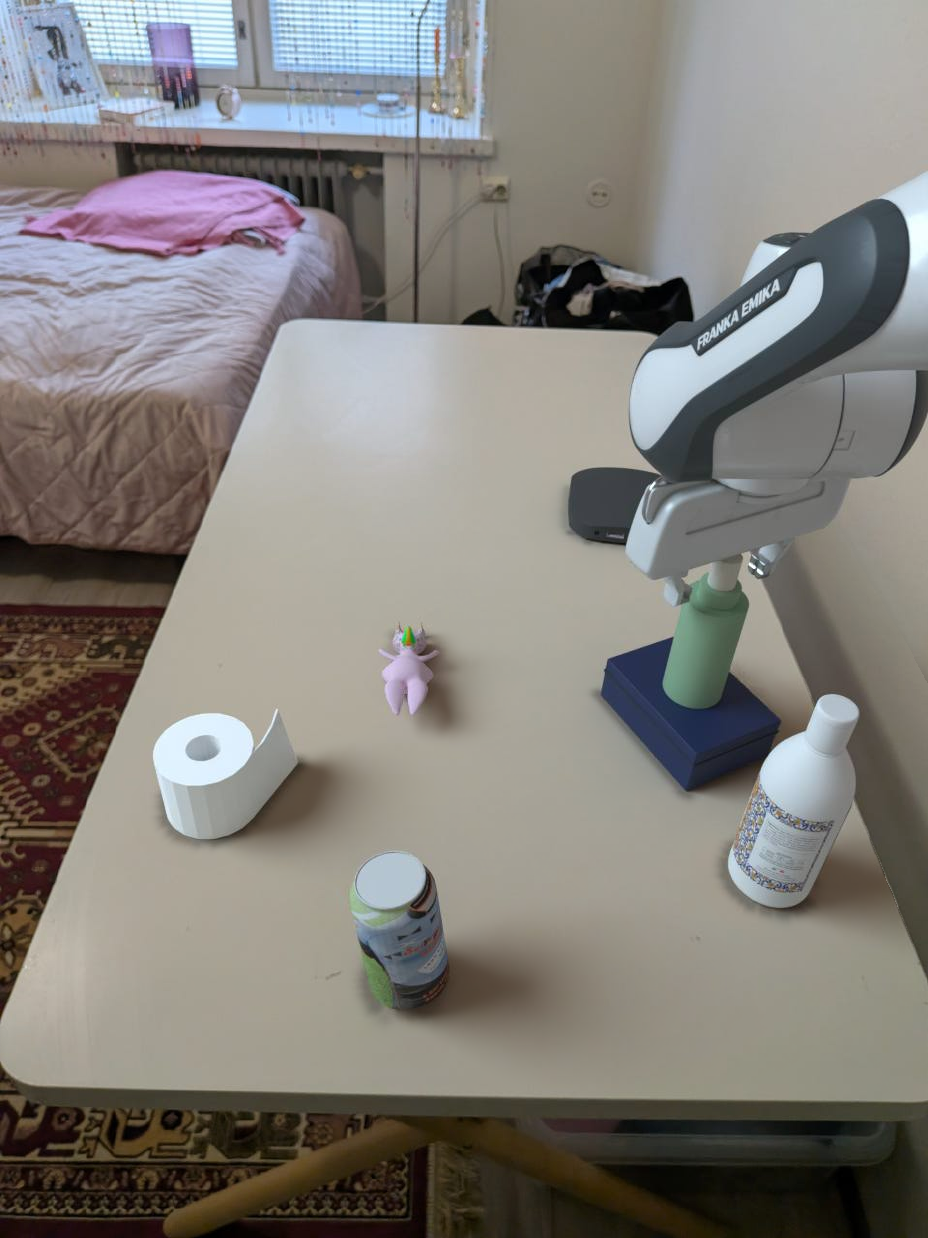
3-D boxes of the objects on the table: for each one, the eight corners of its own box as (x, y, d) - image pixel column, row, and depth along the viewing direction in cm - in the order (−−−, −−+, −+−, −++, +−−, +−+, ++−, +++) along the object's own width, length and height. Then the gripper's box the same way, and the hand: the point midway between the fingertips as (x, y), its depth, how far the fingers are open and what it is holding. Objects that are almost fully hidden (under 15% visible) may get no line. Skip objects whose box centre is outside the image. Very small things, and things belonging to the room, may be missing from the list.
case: (772, 755, 89) (786, 719, 86) (685, 792, 85) (696, 755, 82) (681, 665, 98) (690, 629, 95) (599, 694, 94) (606, 658, 91)
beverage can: (429, 1032, 67) (432, 940, 59) (338, 994, 68) (330, 900, 61) (461, 958, 71) (469, 864, 64) (375, 924, 73) (372, 829, 65)
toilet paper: (297, 763, 86) (292, 709, 81) (224, 853, 78) (214, 799, 73) (224, 733, 88) (215, 680, 84) (146, 818, 80) (131, 764, 76)
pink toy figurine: (381, 645, 101) (371, 728, 88) (381, 597, 98) (371, 676, 85) (438, 647, 101) (437, 730, 88) (440, 599, 98) (439, 678, 85)
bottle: (733, 698, 88) (776, 565, 78) (686, 716, 86) (724, 582, 76) (696, 662, 91) (732, 531, 81) (650, 678, 89) (682, 545, 79)
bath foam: (761, 828, 82) (827, 661, 69) (826, 883, 78) (910, 716, 65) (709, 866, 79) (768, 698, 66) (774, 925, 75) (851, 758, 62)
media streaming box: (675, 490, 126) (679, 470, 124) (684, 551, 115) (689, 531, 113) (568, 480, 127) (571, 461, 125) (567, 540, 116) (569, 520, 114)
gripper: (676, 495, 66) (643, 641, 75) (880, 440, 74) (828, 578, 83) (625, 454, 70) (599, 597, 79) (823, 406, 78) (780, 541, 87)
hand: (718, 587), depth 81 cm, fingers open, 8 cm apart
